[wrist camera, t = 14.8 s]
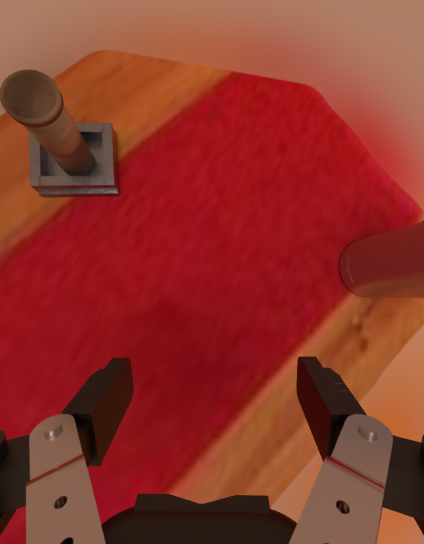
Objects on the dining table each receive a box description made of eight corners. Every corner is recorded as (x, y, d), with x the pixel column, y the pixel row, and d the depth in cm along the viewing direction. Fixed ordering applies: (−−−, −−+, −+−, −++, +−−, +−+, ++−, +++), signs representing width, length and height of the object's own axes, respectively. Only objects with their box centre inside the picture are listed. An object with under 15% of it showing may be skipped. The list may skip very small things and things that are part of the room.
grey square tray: (116, 135, 37) (111, 121, 35) (119, 195, 37) (114, 187, 34) (40, 133, 36) (29, 119, 33) (42, 197, 35) (30, 188, 32)
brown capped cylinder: (96, 144, 36) (59, 71, 24) (98, 179, 36) (60, 122, 24) (58, 144, 35) (-1, 68, 23) (59, 180, 35) (-1, 121, 23)
